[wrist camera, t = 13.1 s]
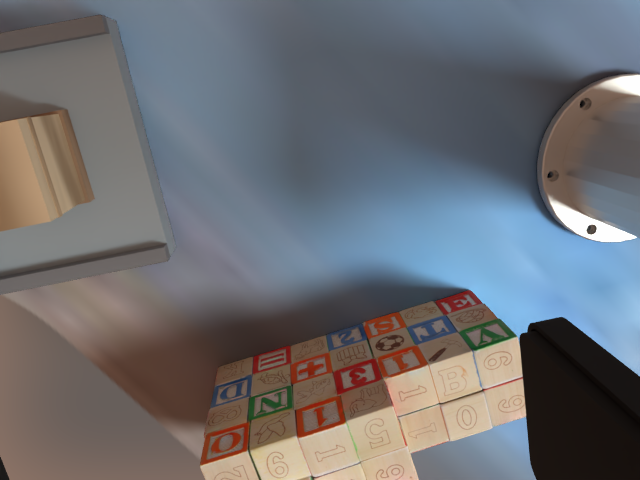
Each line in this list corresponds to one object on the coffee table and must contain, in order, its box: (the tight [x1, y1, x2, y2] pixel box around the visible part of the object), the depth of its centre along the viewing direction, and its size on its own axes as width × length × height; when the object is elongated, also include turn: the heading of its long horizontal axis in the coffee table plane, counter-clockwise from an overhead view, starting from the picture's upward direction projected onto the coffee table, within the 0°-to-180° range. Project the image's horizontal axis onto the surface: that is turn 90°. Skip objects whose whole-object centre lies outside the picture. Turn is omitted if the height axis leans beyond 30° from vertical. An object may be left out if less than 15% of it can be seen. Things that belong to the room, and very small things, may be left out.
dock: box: [0, 15, 176, 295], centre depth 37 cm, size 14×16×6 cm
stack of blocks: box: [200, 290, 526, 480], centre depth 40 cm, size 21×6×12 cm, turn 107°
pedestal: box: [0, 109, 95, 232], centre depth 33 cm, size 6×6×7 cm
